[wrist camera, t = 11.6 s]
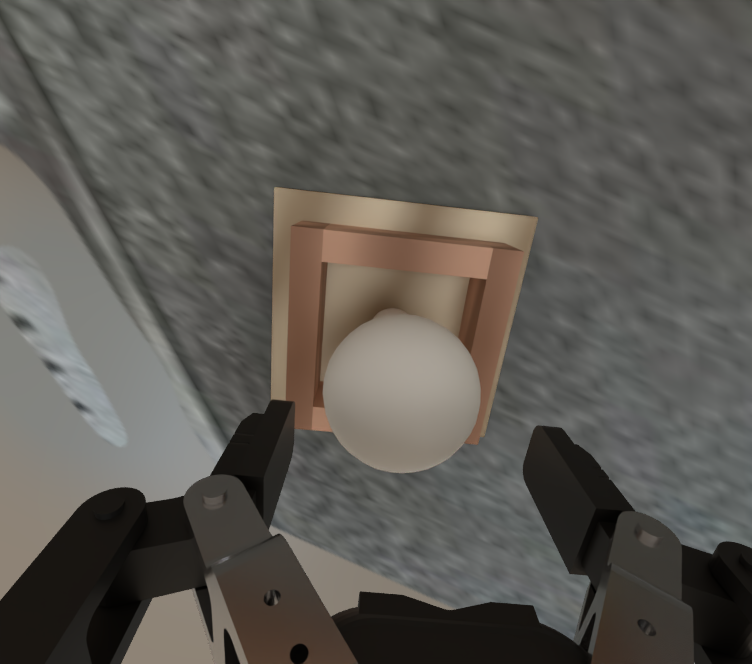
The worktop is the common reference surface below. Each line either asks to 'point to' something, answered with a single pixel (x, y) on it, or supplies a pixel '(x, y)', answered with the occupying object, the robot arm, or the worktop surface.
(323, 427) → the socket stand
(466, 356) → the lightbulb
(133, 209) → the worktop surface
